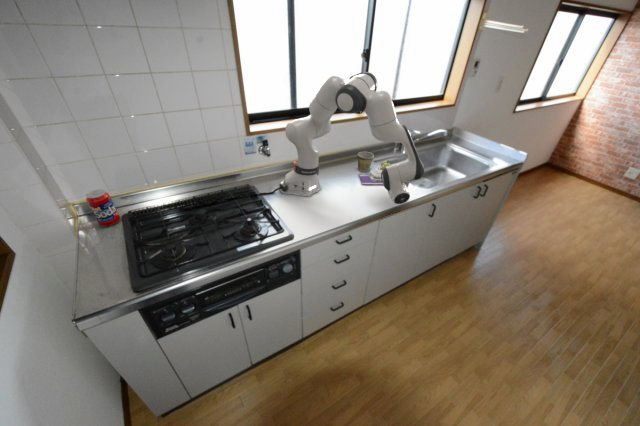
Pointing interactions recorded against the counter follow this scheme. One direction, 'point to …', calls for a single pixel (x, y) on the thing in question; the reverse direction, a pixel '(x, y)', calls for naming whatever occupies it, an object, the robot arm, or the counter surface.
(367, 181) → the towel
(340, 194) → the counter surface
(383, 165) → the green grape bunch
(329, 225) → the counter surface
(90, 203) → the soda can
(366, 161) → the ceramic cup
